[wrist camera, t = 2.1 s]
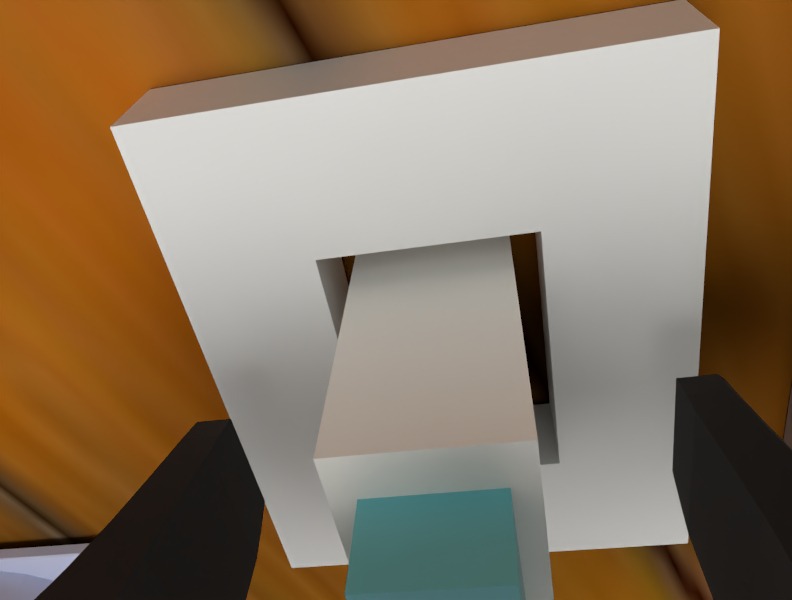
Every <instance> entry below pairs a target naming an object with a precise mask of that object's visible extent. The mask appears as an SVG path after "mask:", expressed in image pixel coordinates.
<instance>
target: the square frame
mask: <svg viewBox="0 0 792 600" xmlns="http://www.w3.org/2000/svg"><path fill="white" fill-rule="evenodd" d="M719 32H720V28H719V27H718V26H717V25H715V24H714V23H713V22H712V21H711V20H709V19H708V18H707V17H706V16H704V15H703V14H702V13H701V12H700V11H698V10H697V9H696V8H695V7H694V6H692V5H691V4H690V3H689V2H688V1H686V0H676V1H670V2H664V3H658V4H652V5H646V6H640V7H634V8H629V9H623V10H617V11H611V12H605V13H599V14H593V15H587V16H581V17H575V18H569V19H563V20H558V21H552V22H546V23H540V24H534V25H528V26H522V27H516V28H510V29H504V30H498V31H492V32H486V33H481V34H475V35H469V36H463V37H457V38H451V39H445V40H439V41H433V42H427V43H421V44H415V45H410V46H404V47H398V48H392V49H386V50H380V51H374V52H368V53H362V54H356V55H350V56H344V57H339V58H333V59H327V60H321V61H315V62H309V63H303V64H297V65H291V66H285V67H279V68H273V69H268V70H262V71H256V72H250V73H244V74H238V75H232V76H226V77H220V78H214V79H208V80H202V81H196V82H191V83H185V84H179V85H173V86H167V87H161V88H155V89H149V90H148V91H147V92H146V93H145V94H144V95H143V96H142V97H141V98H140V99H139V100H138V101H137V102H136V103H135V104H134V105H133V106H132V107H130V108H129V109H128V110H127V111H126V112H125V113H124V114H123V115H122V116H121V117H120V118H119V119H118V120H117V121H116V122H115V123H114V124H113V125H112V126H111V127H110V128H111V131H112V133H113V135H114V138H115V140H116V143H117V145H118V148H119V150H120V152H121V155H122V157H123V160H124V162H125V165H126V167H127V169H128V172H129V174H130V177H131V179H132V182H133V184H134V186H135V189H136V191H137V194H138V196H139V199H140V201H141V203H142V206H143V208H144V211H145V213H146V216H147V218H148V220H149V223H150V225H151V228H152V230H153V232H154V235H155V237H156V240H157V242H158V245H159V247H160V249H161V252H162V254H163V257H164V259H165V262H166V264H167V266H168V269H169V271H170V274H171V276H172V279H173V281H174V283H175V286H176V288H177V291H178V293H179V296H180V298H181V300H182V303H183V305H184V308H185V310H186V313H187V315H188V317H189V320H190V322H191V325H192V327H193V330H194V332H195V334H196V337H197V339H198V342H199V344H200V346H201V349H202V351H203V354H204V356H205V359H206V361H207V363H208V366H209V368H210V371H211V373H212V376H213V378H214V380H215V383H216V385H217V388H218V390H219V393H220V395H221V397H222V400H223V402H224V405H225V407H226V410H227V412H228V414H229V417H230V419H231V420H232V423H233V425H234V427H235V430H236V432H237V435H238V437H239V440H240V442H241V444H242V447H243V449H244V452H245V454H246V456H247V459H248V461H249V464H250V466H251V469H252V471H253V473H254V476H255V478H256V481H257V483H258V485H259V488H260V490H261V493H262V495H263V498H264V500H265V504H266V507H267V509H268V511H269V514H270V516H271V519H272V521H273V524H274V526H275V528H276V531H277V533H278V536H279V538H280V541H281V543H282V545H283V548H284V550H285V553H286V555H287V558H288V560H289V562H290V565H291V567H292V568H299V567H315V566H331V565H347V564H349V562H348V559H347V556H346V553H345V550H344V548H343V545H342V542H341V539H340V536H339V533H338V530H337V527H336V524H335V521H334V518H333V515H332V512H331V510H330V507H329V504H328V501H327V498H326V495H325V492H324V489H323V486H322V483H321V480H320V477H319V474H318V471H317V469H316V466H315V463H314V460H313V458H314V453H315V448H316V443H317V439H318V434H319V429H320V424H321V419H322V414H323V410H324V405H325V400H326V395H327V390H328V386H329V381H330V376H331V371H332V366H333V361H334V357H335V352H336V347H337V342H338V337H339V333H340V328H341V323H342V318H343V313H344V308H345V304H346V299H347V294H348V289H349V285H348V281H347V277H346V273H345V269H344V265H343V262H342V258H341V257H344V256H352V255H360V254H368V253H376V252H383V251H391V250H399V249H407V248H415V247H423V246H431V245H439V244H446V243H454V242H462V241H470V240H478V239H486V238H494V237H502V236H509V235H517V234H525V233H533V232H535V238H536V250H537V261H538V273H539V285H540V296H541V308H542V320H543V331H544V343H545V355H546V367H547V378H548V390H549V402H550V403H547V404H536V405H533V409H534V416H535V423H536V430H537V438H538V447H539V457H540V466H541V476H542V486H543V496H544V506H545V516H546V526H547V536H548V546H549V552H555V551H571V550H587V549H604V548H620V547H636V546H652V545H668V544H684V543H688V530H687V527H686V523H685V519H684V515H683V512H682V508H681V504H680V500H679V496H678V492H677V488H676V484H675V480H674V476H673V472H672V466H673V442H674V418H675V394H676V378H683V377H693V376H698V371H699V355H700V339H701V323H702V307H703V291H704V275H705V258H706V242H707V226H708V210H709V194H710V178H711V162H712V145H713V129H714V113H715V97H716V81H717V65H718V49H719Z"/></svg>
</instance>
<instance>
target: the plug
mask: <svg viewBox="0 0 792 600" xmlns="http://www.w3.org/2000/svg"><path fill="white" fill-rule="evenodd" d="M313 460H314V463H315V466H316V469H317V471H318V474H319V477H320V480H321V483H322V486H323V489H324V492H325V495H326V498H327V501H328V504H329V507H330V510H331V512H332V515H333V518H334V521H335V524H336V527H337V530H338V533H339V536H340V539H341V542H342V545H343V548H344V550H345V553H346V556H347V559H348V562H349V566H348V573H347V581H346V588H345V597H346V600H554V595H553V585H552V576H551V566H550V556H549V546H548V536H547V526H546V516H545V506H544V496H543V486H542V476H541V466H540V457H539V447H538V438H537V430H536V423H535V416H534V409H533V402H532V395H531V387H530V380H529V373H528V366H527V359H526V351H525V344H524V337H523V330H522V323H521V315H520V308H519V301H518V294H517V287H516V280H515V272H514V265H513V258H512V251H511V244H510V236H502V237H494V238H486V239H478V240H470V241H462V242H454V243H446V244H439V245H431V246H423V247H415V248H407V249H399V250H391V251H383V252H376V253H368V254H360V255H355V260H354V265H353V270H352V275H351V280H350V284H349V289H348V294H347V299H346V304H345V308H344V313H343V318H342V323H341V328H340V333H339V337H338V342H337V347H336V352H335V357H334V361H333V366H332V371H331V376H330V381H329V386H328V390H327V395H326V400H325V405H324V410H323V414H322V419H321V424H320V429H319V434H318V439H317V443H316V448H315V453H314V458H313Z"/></svg>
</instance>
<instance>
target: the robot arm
mask: <svg viewBox="0 0 792 600" xmlns="http://www.w3.org/2000/svg"><path fill="white" fill-rule="evenodd" d="M672 472H673V476H674V480H675V484H676V488H677V492H678V496H679V500H680V504H681V508H682V512H683V515H684V519H685V523H686V527H687V530H688V534H689V536H690V539H691V542H692V544H693V547H694V550H695V552H696V555H697V558H698V560H699V563H700V565H701V568H702V571H703V573H704V576H705V579H706V581H707V584H708V586H709V589H710V592H711V594H712V597H713V599H714V600H792V449H791V448H790V447H789V446H788V445H787V444H786V443H785V442H784V441H783V440H782V439H781V438H780V437H779V436H778V435H777V434H776V433H775V432H774V431H773V430H772V429H771V428H770V427H769V426H768V425H767V424H766V423H765V422H764V421H763V420H762V419H761V418H760V417H759V416H758V415H757V414H756V413H755V411H754V410H753V409H752V408H751V407H750V406H749V405H748V404H747V403H746V402H745V401H744V400H743V399H742V398H741V397H740V395H739V394H738V393H737V392H736V391H735V390H734V389H733V388H732V387H731V386H730V385H729V384H728V382H727V381H726V380H725V379H723V378H722V377H721V376H720V375H718V374H715V375H704V376H693V377H683V378H676V394H675V418H674V442H673V466H672ZM264 503H265V500H264V498H263V495H262V493H261V490H260V488H259V485H258V483H257V481H256V478H255V476H254V473H253V471H252V469H251V466H250V464H249V461H248V459H247V456H246V454H245V452H244V449H243V447H242V444H241V442H240V440H239V437H238V435H237V432H236V430H235V427H234V425H233V423H232V420H231V419H226V420H215V421H204V422H197V423H196V424H195V425H194V426H193V427H192V428H191V429H190V431H189V432H188V433H187V434H186V435H185V436H184V437H183V439H182V440H181V441H180V442H179V443H178V444H177V446H176V447H175V448H174V449H173V450H172V451H171V453H170V454H169V455H168V456H167V457H166V458H165V460H164V461H163V462H162V463H161V464H160V465H159V467H158V468H157V469H156V470H155V471H154V473H153V474H152V475H151V476H150V477H149V478H148V480H147V481H146V482H145V483H144V484H143V485H142V486H141V488H140V489H139V490H138V491H137V492H136V493H135V494H134V496H133V497H132V498H131V499H130V500H129V501H128V502H127V504H126V505H125V506H124V507H123V508H122V509H121V510H120V512H119V513H118V514H117V515H116V516H115V517H114V518H113V519H112V521H111V522H110V523H109V524H108V525H107V526H106V527H105V528H104V529H103V530H102V531H101V532H100V533H99V534H98V535H97V536H96V537H95V539H94V540H93V541H92V542H91V543H85V544H71V545H57V546H43V547H28V548H14V549H0V600H246V597H247V593H248V589H249V586H250V582H251V578H252V574H253V571H254V567H255V563H256V559H257V553H258V547H259V540H260V534H261V527H262V519H263V511H264Z"/></svg>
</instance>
